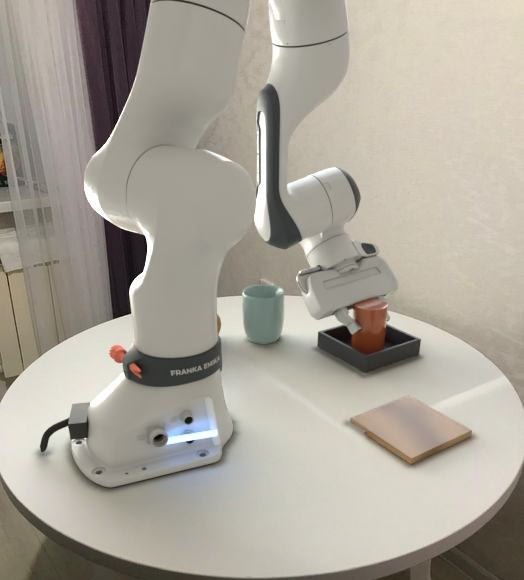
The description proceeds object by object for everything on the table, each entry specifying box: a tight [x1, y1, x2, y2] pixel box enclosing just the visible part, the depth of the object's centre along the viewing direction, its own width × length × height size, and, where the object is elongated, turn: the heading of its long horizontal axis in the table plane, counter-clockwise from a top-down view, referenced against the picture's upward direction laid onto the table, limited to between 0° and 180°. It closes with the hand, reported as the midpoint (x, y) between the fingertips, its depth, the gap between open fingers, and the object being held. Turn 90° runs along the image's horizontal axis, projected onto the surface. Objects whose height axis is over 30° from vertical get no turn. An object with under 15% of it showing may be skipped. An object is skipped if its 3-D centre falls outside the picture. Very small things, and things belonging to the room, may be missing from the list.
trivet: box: [350, 395, 473, 465], centre depth 84 cm, size 12×12×1 cm
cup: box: [241, 284, 285, 345], centre depth 111 cm, size 8×8×10 cm
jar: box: [351, 298, 389, 355], centre depth 105 cm, size 6×6×9 cm
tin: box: [317, 323, 422, 374], centre depth 107 cm, size 13×13×4 cm
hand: (371, 326), depth 105 cm, fingers closed on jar, 6 cm apart
